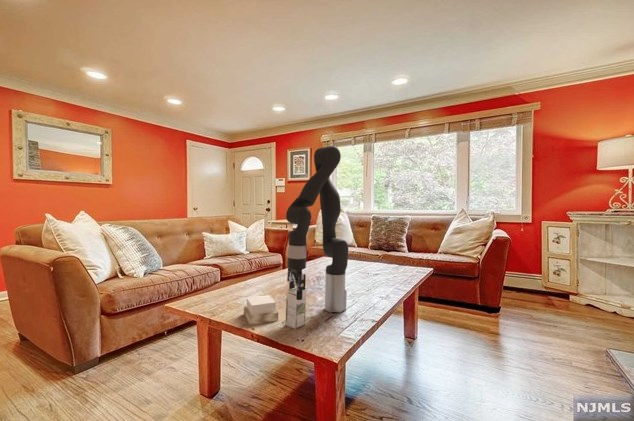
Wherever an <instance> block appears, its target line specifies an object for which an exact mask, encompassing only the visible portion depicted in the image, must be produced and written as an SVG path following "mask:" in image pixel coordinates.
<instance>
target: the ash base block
mask: <svg viewBox="0 0 634 421" xmlns="http://www.w3.org/2000/svg"><path fill="white" fill-rule="evenodd" d="M243 316H244V318H245V320H246V321H247V322H246V323H248V325H249V326H252V325H258V324H259V323H260V324H265V323H266V324H267V323H270V322H278V321H279V312H278V310H277V309H276V312H270V313H263V314H257V315H251V313H250V311H249V310H248V308H247V305H246V306H245V305H244V306H243Z"/></svg>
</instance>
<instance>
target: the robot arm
mask: <svg viewBox="0 0 634 421" xmlns="http://www.w3.org/2000/svg"><path fill="white" fill-rule="evenodd" d="M313 153H314V154H313V163H314V167H315V173H314V174H313V175H312V176H311V177H310V178H309V179H308V180H307V181H306V183H305V184H304V185H303V188H302V189H301V191H300V194H299V195H298V197H296V198H295V199H294V201H293V202H292V203H291V204H290V205H289V206H288V208H287V210H286V213H285V219H286V221H287V222H288V223H290V224H293V225H296V228H295V229H294V230H291V231H289V234H288V248H287V262H286V263H287V265H286V266H287V267H286V268H287V278H286V280H287V282H288V288H289V289H293V288H297V294H296V299H297V300H302V292H303V290H306V283H307V281H306V278H307V277H306V276H307V275H306V273H303V270H305V269H306V268H307V237H308V236H307V234H308V232H309V228H310V225H311V222H312V212H311V210H310V207H312V206H314V204H315V203H316V200H317V198H318V196H319V204H320V213H321V225H322V251H323V253H324V255H325V256H326V257H328V258H331V259H332V261H331V264H328V265H327V266H326V267H325V283H324V284H325V288H324V291H325V292H324V310H325V311H326V312H327V313H328V312H329V313H332V312H339V313H343V312H344V311H346V310H347V296H348V292H347V289H346V270H347V267H348V259H349V244H348V243H347V241H346V240H344V239H341V238H337V234H336V233H337V232H336V226H337V222H338V219H339V217H340V214H341V210H342V209H341V208H342V206H341V196H340V194H339V192H338V190H337V188H336V186H335V185H334V184H333V181H332V180H331V175H332V174H333V172H335V169H337V167H338V165H339V164H340V162H341V158H342V154H341V151H340V148H338V147H337V146H334V145H330V146H329V145H328V146H324V147H319V148H317V149H316V150H315V151H314V152H313ZM289 289H288V290H289ZM345 309H346V310H345ZM343 310H344V311H343ZM342 311H343V312H342Z"/></svg>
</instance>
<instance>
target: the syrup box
mask: <svg viewBox="0 0 634 421" xmlns="http://www.w3.org/2000/svg"><path fill="white" fill-rule="evenodd" d="M296 294H297V288H296V287H295V288H293V289H287V290H286V297H285V298H286V299H285V300H286V301H285V302H286V303H285V304H286V305H285V324H284V325H285V326H287V327H289V328H292V329H295V330H296V329H299V328H300V327H301V328H302V327H303V326H305V323H306V309H307V308H306V305H307V304H306V303H307V302H306V300H307V298H306V297H307V290H306V289H305V290H303V292H302V300H297V299H296Z"/></svg>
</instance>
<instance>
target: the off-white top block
mask: <svg viewBox="0 0 634 421" xmlns="http://www.w3.org/2000/svg"><path fill="white" fill-rule="evenodd" d="M276 304H277V302H276V301H275V300H274V299H273V297H272V296H271V295H270V294H267V295H259V296H251V297H246V306H247V308H248V310H249V311H250V313H251V315H257V314H263V313H270V312H276V310H277V308H276Z"/></svg>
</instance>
